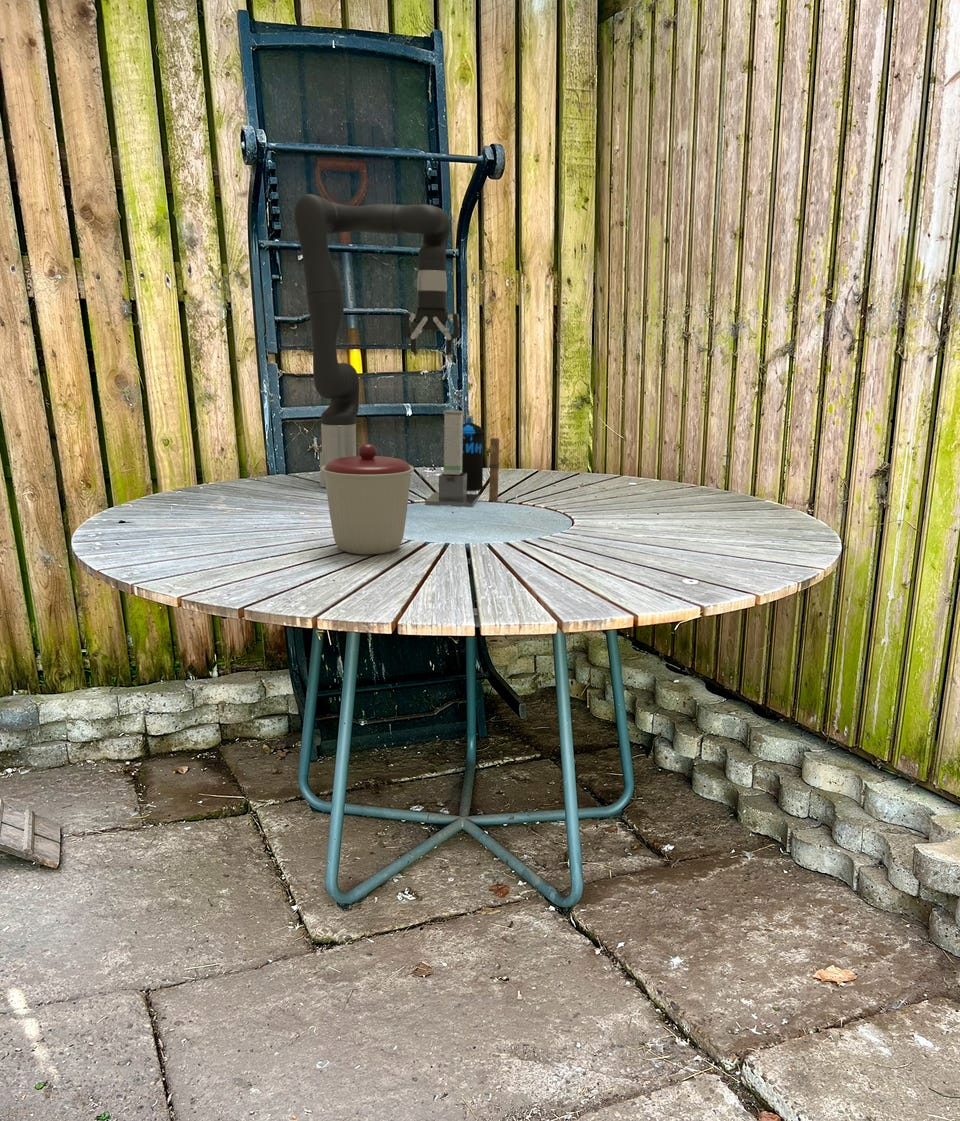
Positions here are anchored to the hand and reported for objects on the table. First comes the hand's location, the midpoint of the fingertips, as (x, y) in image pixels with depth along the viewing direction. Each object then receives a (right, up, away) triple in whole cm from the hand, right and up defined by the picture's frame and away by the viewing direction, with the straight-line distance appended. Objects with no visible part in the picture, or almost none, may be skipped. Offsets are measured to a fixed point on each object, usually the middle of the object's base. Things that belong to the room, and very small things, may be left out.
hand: (431, 354), depth 232 cm
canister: (-10, -51, -53) cm, 74 cm away
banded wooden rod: (+16, -38, -1) cm, 41 cm away
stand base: (+6, -38, -3) cm, 39 cm away
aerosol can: (+9, -34, +16) cm, 38 cm away
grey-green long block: (+6, -31, -5) cm, 32 cm away
